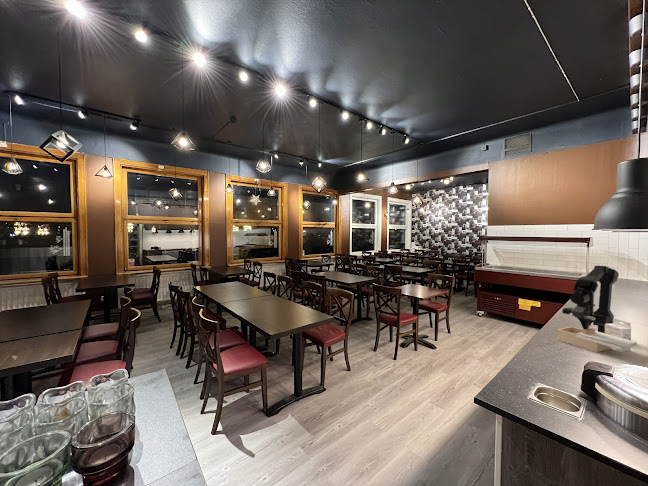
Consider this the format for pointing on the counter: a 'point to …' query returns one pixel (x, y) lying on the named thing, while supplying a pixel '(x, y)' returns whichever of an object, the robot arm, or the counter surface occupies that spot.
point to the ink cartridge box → (619, 331)
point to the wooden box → (579, 339)
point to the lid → (604, 338)
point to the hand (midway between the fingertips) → (585, 330)
